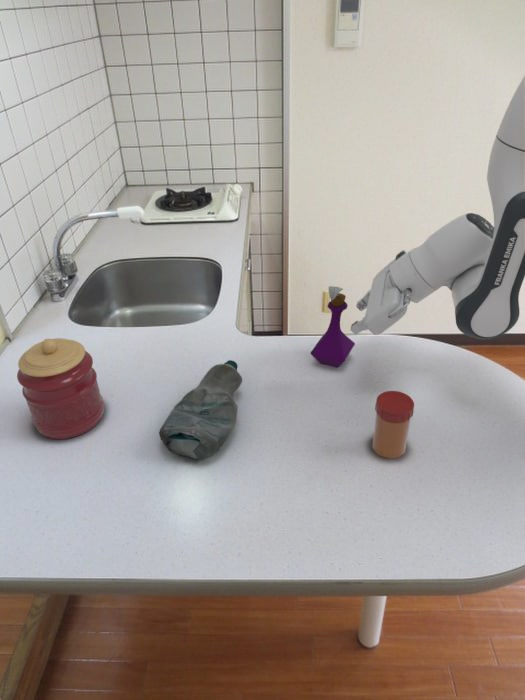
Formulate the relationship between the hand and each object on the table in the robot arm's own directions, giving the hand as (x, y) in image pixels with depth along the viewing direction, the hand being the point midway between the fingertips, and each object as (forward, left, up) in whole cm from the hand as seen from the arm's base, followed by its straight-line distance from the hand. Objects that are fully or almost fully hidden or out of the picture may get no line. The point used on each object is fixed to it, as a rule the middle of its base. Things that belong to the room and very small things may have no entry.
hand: (355, 318), depth 106 cm
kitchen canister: (+57, +12, -11) cm, 59 cm away
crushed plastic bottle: (+30, +15, -11) cm, 35 cm away
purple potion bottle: (+4, -1, -11) cm, 12 cm away
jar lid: (-1, +26, -1) cm, 26 cm away
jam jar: (-1, +26, -11) cm, 28 cm away
